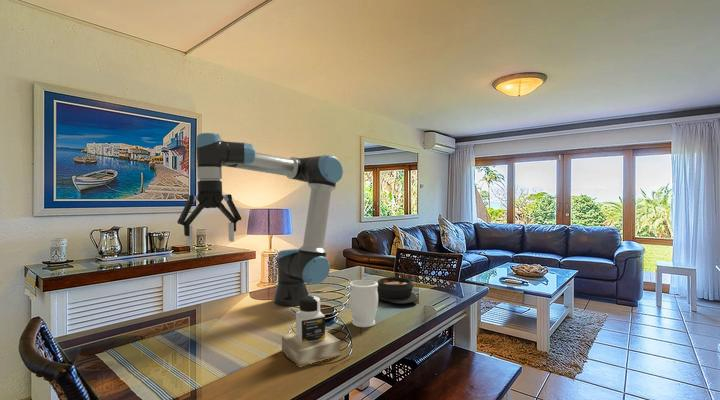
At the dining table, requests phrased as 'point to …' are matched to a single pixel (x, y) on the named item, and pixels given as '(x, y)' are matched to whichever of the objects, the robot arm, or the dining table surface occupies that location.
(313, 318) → the medicine bottle
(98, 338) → the dining table surface
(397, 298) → the casserole
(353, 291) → the jar
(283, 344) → the birch block
